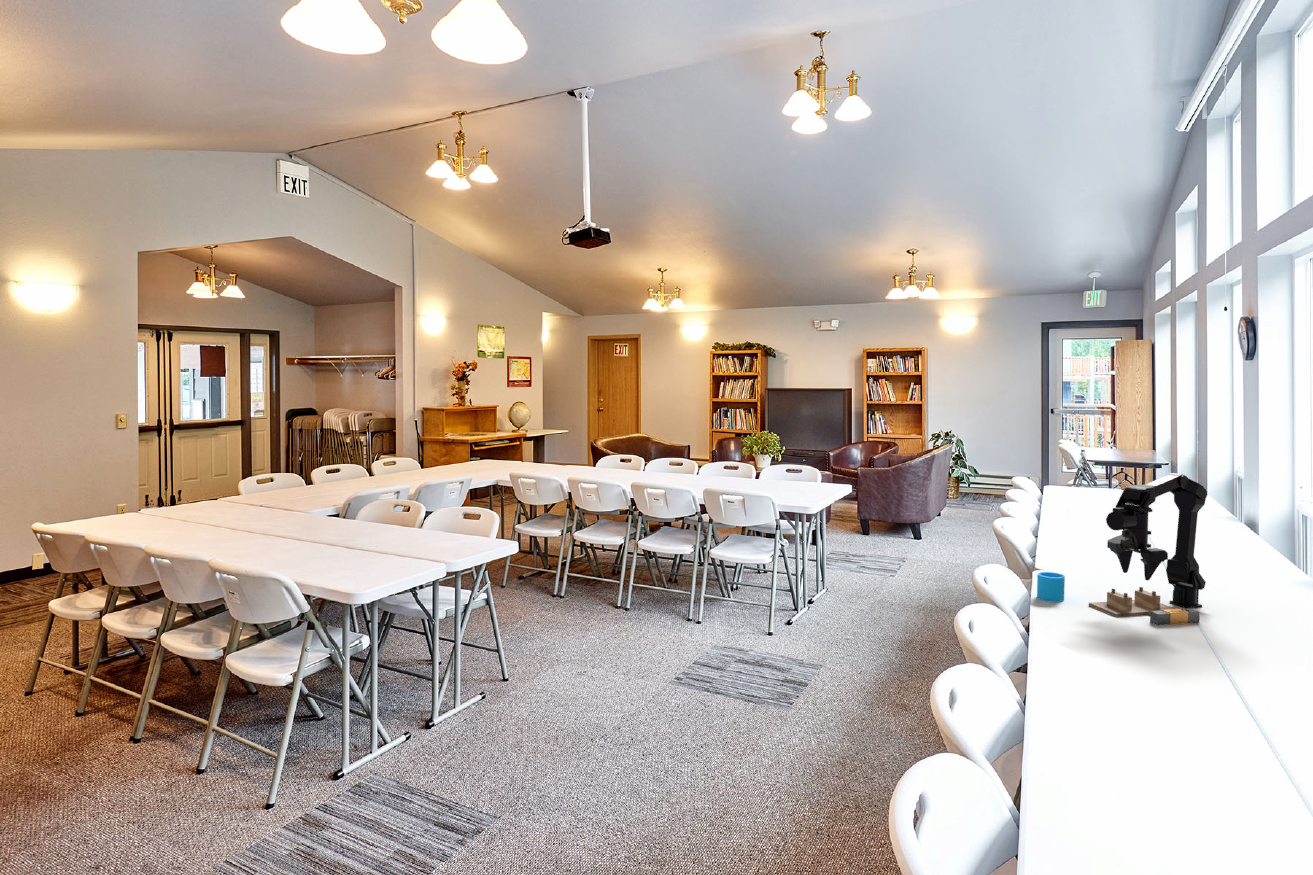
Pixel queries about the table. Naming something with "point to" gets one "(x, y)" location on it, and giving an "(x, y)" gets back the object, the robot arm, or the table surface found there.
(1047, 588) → the mug
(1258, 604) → the table surface
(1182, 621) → the spanner bar
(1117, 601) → the tool rack
